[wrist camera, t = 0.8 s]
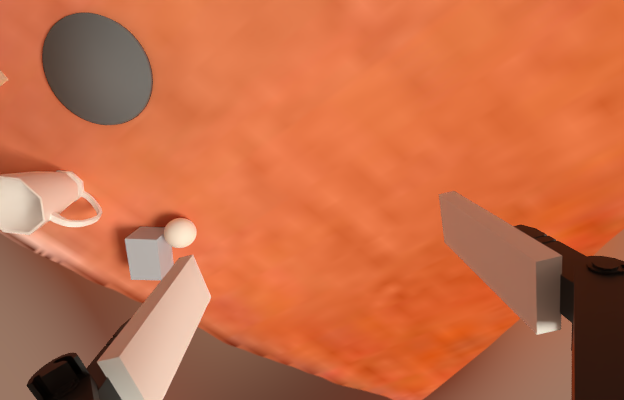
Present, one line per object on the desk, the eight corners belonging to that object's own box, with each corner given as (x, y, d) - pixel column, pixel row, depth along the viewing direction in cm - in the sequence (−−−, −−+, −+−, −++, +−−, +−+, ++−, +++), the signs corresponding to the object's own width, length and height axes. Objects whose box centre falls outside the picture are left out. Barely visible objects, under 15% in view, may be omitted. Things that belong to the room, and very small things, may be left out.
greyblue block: (140, 226, 42) (124, 238, 38) (170, 227, 42) (156, 239, 38) (146, 263, 44) (131, 279, 40) (174, 264, 44) (161, 280, 40)
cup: (48, 149, 38) (-17, 161, 30) (124, 187, 40) (81, 207, 32) (33, 195, 40) (-32, 217, 32) (107, 229, 41) (63, 258, 34)
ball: (167, 216, 41) (153, 228, 37) (195, 210, 41) (183, 221, 37) (177, 242, 42) (165, 256, 39) (204, 236, 42) (194, 249, 38)
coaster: (27, 28, 34) (22, 26, 33) (128, 2, 33) (125, 1, 32) (76, 134, 37) (72, 134, 37) (167, 112, 37) (165, 113, 36)
